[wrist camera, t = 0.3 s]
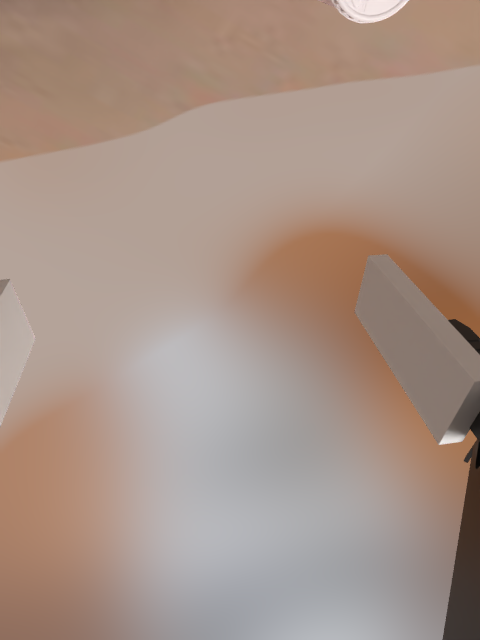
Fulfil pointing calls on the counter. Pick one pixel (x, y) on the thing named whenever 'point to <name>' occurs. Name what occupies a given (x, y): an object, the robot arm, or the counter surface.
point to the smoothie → (366, 9)
